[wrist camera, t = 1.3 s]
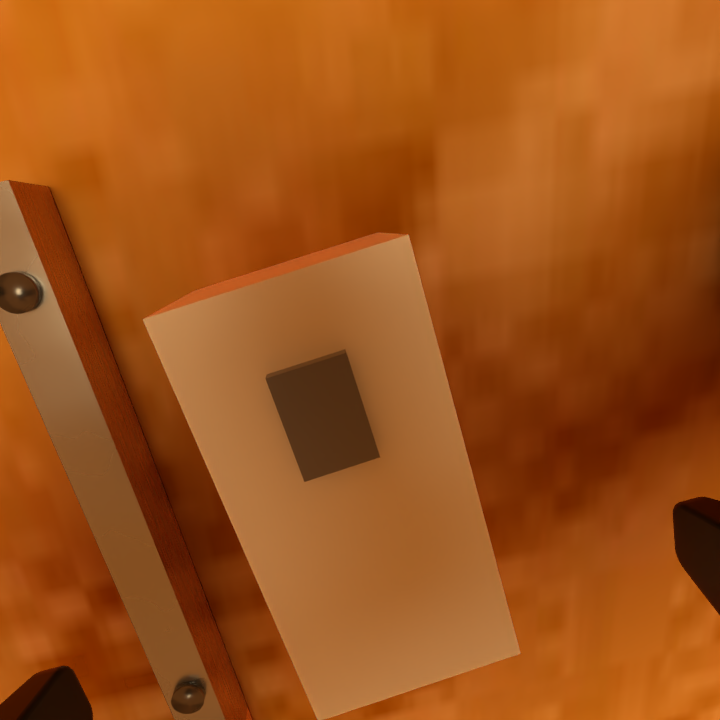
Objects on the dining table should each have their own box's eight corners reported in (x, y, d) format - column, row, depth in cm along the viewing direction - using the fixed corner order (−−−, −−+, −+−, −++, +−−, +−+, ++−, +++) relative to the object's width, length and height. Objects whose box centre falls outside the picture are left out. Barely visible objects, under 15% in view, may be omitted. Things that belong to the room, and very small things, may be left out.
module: (377, 232, 12) (413, 234, 8) (464, 539, 14) (526, 663, 10) (195, 289, 12) (135, 322, 8) (314, 589, 14) (317, 733, 10)
